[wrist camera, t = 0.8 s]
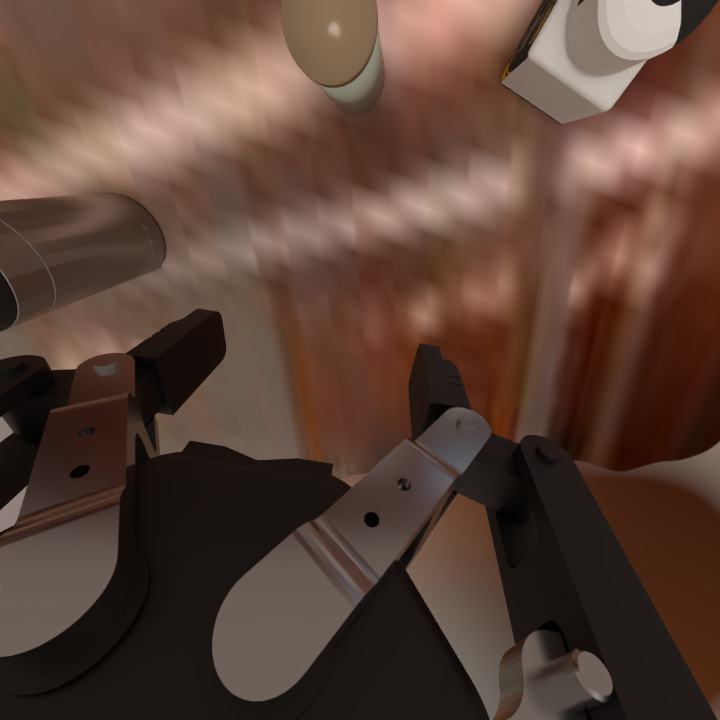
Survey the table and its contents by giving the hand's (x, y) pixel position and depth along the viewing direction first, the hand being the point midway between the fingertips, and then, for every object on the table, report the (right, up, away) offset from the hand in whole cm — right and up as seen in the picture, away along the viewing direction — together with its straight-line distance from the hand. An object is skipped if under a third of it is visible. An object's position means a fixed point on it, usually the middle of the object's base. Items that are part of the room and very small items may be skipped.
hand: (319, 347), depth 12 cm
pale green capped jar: (+1, +25, +14) cm, 29 cm away
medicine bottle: (+18, +25, +12) cm, 33 cm away
